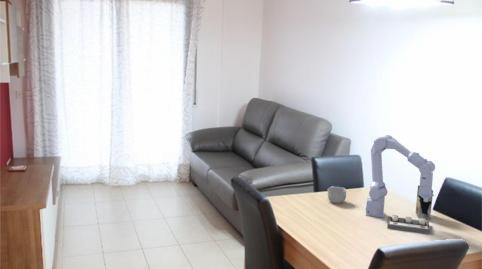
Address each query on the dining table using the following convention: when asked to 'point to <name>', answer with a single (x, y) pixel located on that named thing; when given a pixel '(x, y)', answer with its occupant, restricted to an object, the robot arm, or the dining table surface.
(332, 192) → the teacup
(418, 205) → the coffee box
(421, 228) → the button board
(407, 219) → the middle button
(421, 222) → the right button
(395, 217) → the left button
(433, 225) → the dining table surface
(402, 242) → the dining table surface
